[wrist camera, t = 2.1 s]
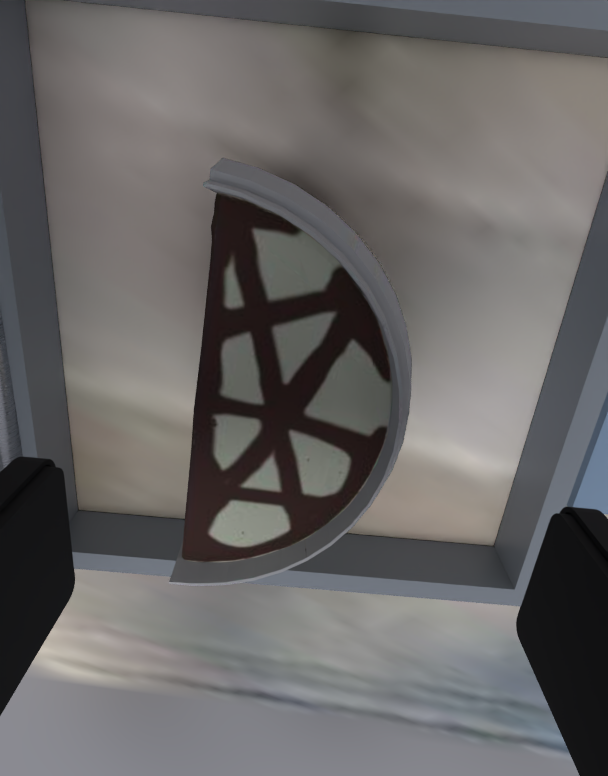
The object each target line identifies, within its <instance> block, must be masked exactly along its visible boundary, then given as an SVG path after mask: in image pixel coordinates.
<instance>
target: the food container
mask: <svg viewBox="0 0 608 776" xmlns="http://www.w3.org/2000/svg"><path fill="white" fill-rule="evenodd" d="M203 186H204V187H206V188H208V189H210V190H212V191H214V192H216V193H217V194H216V199H215V207H214V216H213V220H212V225H211V231H212V247H211V260H210V270H209V280H208V289H207V298H206V308H205V318H204V327H203V337H202V347H201V355H200V364H199V372H198V380H197V389H196V397H195V405H194V416H193V432H192V448H191V459H190V470H189V481H188V492H187V502H186V513H185V523H184V535H183V541H182V545H181V548H180V551H179V554H178V557H177V560H176V563H175V566H174V569H173V572H172V575H171V578H170V581H169V584H178V585H190V586H213V585H229V584H235V583H242V582H248V581H254V580H257V579H261V578H264V577H268V576H271V575H274V574H278V573H281V572H283V571H286V570H288V569H290V568H292V567H295V566H297V565H299V564H301V563H303V562H306V561H308V560H309V559H311V558H312V557H314V556H316V555H317V554H319V553H320V552H322V551H323V550H325V549H327V548H328V547H330V546H331V545H333V544H334V543H335V542H336V541H337V540H338V539H339V538H341V537H342V536H343V535H344V534H345V533H346V532H347V531H349V530H350V529H351V528H352V527H353V526H354V525H355V524H356V522H357V521H358V520H359V519H360V518H361V516H362V515H363V514H364V513H365V512H366V510H367V509H368V508H369V507H370V506H371V504H372V503H373V501H374V499H375V498H376V496H377V495H378V493H379V492H380V490H381V488H382V487H383V485H384V483H385V482H386V480H387V478H388V477H389V475H390V473H391V472H392V470H393V467H394V464H395V462H396V459H397V457H398V454H399V451H400V449H401V446H402V444H403V440H404V435H405V430H406V425H407V420H408V415H409V408H410V397H411V367H412V358H411V352H410V345H409V339H408V332H407V326H406V323H405V320H404V317H403V314H402V311H401V308H400V306H399V303H398V300H397V297H396V294H395V292H394V290H393V288H392V286H391V284H390V283H389V281H388V279H387V277H386V275H385V273H384V271H383V270H382V268H381V266H380V264H379V262H378V261H377V260H376V258H375V257H374V256H373V254H372V253H371V252H370V250H369V249H368V248H367V247H366V245H365V244H364V243H363V241H362V240H361V239H360V237H359V236H358V235H357V234H356V232H354V231H353V230H352V229H351V228H350V227H349V226H348V225H347V224H346V223H345V222H344V221H343V220H342V219H341V218H340V217H338V216H337V215H336V214H335V213H334V212H333V211H332V210H331V209H330V208H329V207H328V206H326V205H325V204H323V203H322V202H320V201H319V200H317V199H316V198H314V197H313V196H311V195H310V194H308V193H307V192H305V191H304V190H302V189H301V188H299V187H298V186H296V185H295V184H293V183H291V182H289V181H286V180H284V179H282V178H280V177H278V176H275V175H273V174H271V173H269V172H267V171H265V170H262V169H260V168H258V167H254V166H251V165H247V164H244V163H240V162H236V161H233V160H229V159H225V158H222V159H221V160H220V161H219V162H218V163H217V164H216V165H215V166H213V167H212V168H211V171H210V180H209V181H206V182H204V184H203Z"/></svg>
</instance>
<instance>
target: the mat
mask: <svg viewBox="0 0 608 776" xmlns="http://www.w3.org/2000/svg"><path fill="white" fill-rule="evenodd" d="M567 506H568V507H578V508H589V509H597V510H599V511H601V512H602V513H603V514H608V392H607V395H606V398H605V401H604V403H603V406H602V409H601V412H600V414H599V417H598V420H597V423H596V426H595V428H594V431H593V434H592V437H591V439H590V442H589V445H588V448H587V450H586V453H585V456H584V459H583V461H582V464H581V467H580V470H579V473H578V475H577V478H576V481H575V484H574V486H573V489H572V492H571V495H570V497H569V500H568V503H567Z"/></svg>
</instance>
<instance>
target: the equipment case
mask: <svg viewBox="0 0 608 776" xmlns="http://www.w3.org/2000/svg"><path fill="white" fill-rule="evenodd" d="M66 1H76V2H85V3H95V4H104V5H114V6H123V7H133V8H142V9H152V10H161V11H171V12H180V13H190V14H199V15H209V16H218V17H228V18H237V19H247V20H256V21H265V22H275V23H284V24H294V25H303V26H313V27H322V28H332V29H341V30H351V31H360V32H370V33H379V34H389V35H398V36H408V37H417V38H427V39H436V40H446V41H455V42H465V43H474V44H484V45H493V46H503V47H512V48H522V49H531V50H541V51H550V52H560V53H569V54H579V55H588V56H598V57H607V58H608V0H66ZM607 392H608V174H607V177H606V180H605V183H604V187H603V190H602V193H601V197H600V200H599V203H598V206H597V210H596V213H595V216H594V220H593V223H592V226H591V229H590V233H589V236H588V239H587V243H586V246H585V249H584V252H583V256H582V259H581V262H580V266H579V269H578V272H577V275H576V279H575V282H574V285H573V289H572V292H571V295H570V298H569V302H568V305H567V308H566V312H565V315H564V318H563V321H562V325H561V328H560V331H559V335H558V338H557V341H556V344H555V348H554V351H553V354H552V358H551V361H550V364H549V367H548V371H547V374H546V377H545V381H544V384H543V387H542V390H541V394H540V397H539V400H538V404H537V407H536V410H535V413H534V417H533V420H532V423H531V427H530V430H529V433H528V436H527V440H526V443H525V446H524V450H523V453H522V456H521V459H520V463H519V466H518V469H517V473H516V476H515V479H514V482H513V486H512V489H511V492H510V496H509V499H508V502H507V505H506V509H505V512H504V515H503V519H502V522H501V525H500V528H499V532H498V535H497V538H496V542H495V545H494V547H493V546H482V545H470V544H459V543H447V542H436V541H424V540H413V539H401V538H390V537H378V536H367V535H355V534H344V535H343V536H342V537H341V538H339V539H338V540H337V541H336V542H335V543H334V544H333V545H331V546H330V547H328V548H327V549H325V550H323V551H322V552H320V553H319V554H317V555H316V556H314V557H312V558H311V559H309V560H308V561H306V562H303V563H301V564H299V565H297V566H295V567H292V568H290V569H288V570H286V571H283V572H281V573H278V574H274V575H271V576H268V577H264V578H261V579H257V580H254V581H248V582H242V583H252V584H263V585H275V586H287V587H299V588H311V589H322V590H334V591H346V592H358V593H370V594H382V595H393V596H405V597H417V598H429V599H441V600H452V601H464V602H476V603H488V604H500V605H512V606H521V604H522V601H523V598H524V595H525V592H526V589H527V587H528V584H529V581H530V578H531V575H532V572H533V569H534V566H535V563H536V560H537V557H538V554H539V551H540V548H541V545H542V542H543V539H544V536H545V533H546V530H547V527H548V524H549V522H550V519H551V517H552V516H553V515H554V514H556V513H560V511H561V510H562V509H563V508H564V507H566V506H567V503H568V500H569V497H570V495H571V492H572V489H573V486H574V484H575V481H576V478H577V475H578V473H579V470H580V467H581V464H582V461H583V459H584V456H585V453H586V450H587V448H588V445H589V442H590V439H591V437H592V434H593V431H594V428H595V426H596V423H597V420H598V417H599V414H600V412H601V409H602V406H603V403H604V401H605V398H606V395H607ZM21 456H23V457H34V458H45V459H51V460H53V461H54V463H55V466H56V467H58V468H61V469H62V470H63V472H64V478H65V488H66V497H67V507H68V516H69V526H70V535H71V545H72V554H73V564H74V569H86V570H98V571H110V572H122V573H133V574H145V575H157V576H169V577H171V575H172V572H173V569H174V566H175V563H176V560H177V557H178V554H179V551H180V548H181V545H182V541H183V535H184V523H185V520H182V519H171V518H159V517H148V516H136V515H125V514H113V513H102V512H90V511H78V506H77V496H76V487H75V477H74V468H73V458H72V449H71V439H70V430H69V420H68V411H67V401H66V392H65V382H64V373H63V363H62V354H61V344H60V334H59V325H58V315H57V306H56V296H55V287H54V277H53V268H52V258H51V249H50V239H49V230H48V220H47V211H46V201H45V192H44V182H43V173H42V163H41V154H40V144H39V135H38V125H37V116H36V106H35V97H34V87H33V78H32V68H31V59H30V49H29V40H28V30H27V21H26V11H25V2H24V0H0V472H1V471H2V470H3V469H4V468H5V467H6V466H7V465H8V464H9V463H11V462H12V461H13V460H14V459H15V458H17V457H21Z"/></svg>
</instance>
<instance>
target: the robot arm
mask: <svg viewBox="0 0 608 776" xmlns="http://www.w3.org/2000/svg"><path fill="white" fill-rule="evenodd" d="M74 584H75V573H74V564H73V554H72V545H71V535H70V526H69V516H68V507H67V497H66V488H65V478H64V472H63V470H62V469H61V468H58V467H56V466H55V463H54V461H53V460H51V459H45V458H34V457H23V456H21V457H17V458H15V459H14V460H13V461H12V462H11V463H9V464H8V465H7V466H6V467H5V468H4V469H3V470H2V471H1V472H0V715H1V713H2V712H3V710H4V709H5V707H6V705H7V703H8V702H9V700H10V698H11V697H12V695H13V693H14V691H15V690H16V688H17V687H18V685H19V683H20V682H21V680H22V678H23V677H24V675H25V673H26V672H27V670H28V668H29V666H30V665H31V663H32V661H33V660H34V658H35V656H36V655H37V653H38V651H39V650H40V648H41V646H42V645H43V643H44V641H45V640H46V638H47V636H48V635H49V633H50V631H51V629H52V628H53V626H54V624H55V623H56V621H57V619H58V618H59V616H60V614H61V613H62V611H63V609H64V608H65V606H66V604H67V603H68V601H69V599H70V597H71V595H72V592H73V589H74ZM516 626H517V634H518V637H519V640H520V642H521V644H522V647H523V649H524V651H525V653H526V656H527V658H528V660H529V662H530V665H531V667H532V669H533V671H534V674H535V676H536V678H537V680H538V683H539V685H540V687H541V689H542V692H543V694H544V696H545V698H546V701H547V703H548V705H549V707H550V710H551V712H552V714H553V716H554V719H555V721H556V723H557V725H558V728H559V730H560V732H561V734H562V737H563V739H564V741H565V743H566V746H567V748H568V750H569V752H570V755H571V757H572V759H573V761H574V764H575V766H576V768H577V770H578V773H579V775H580V776H608V519H607V517H606V516H605V515H604V514H603V513H602V512H601V511H599V510H597V509H589V508H578V507H564V508H563V509H562V510H561V511H560V513H556V514H554V515H553V516H552V517H551V519H550V522H549V524H548V527H547V530H546V533H545V536H544V539H543V542H542V545H541V548H540V551H539V554H538V557H537V560H536V563H535V566H534V569H533V572H532V575H531V578H530V581H529V584H528V587H527V589H526V592H525V595H524V598H523V601H522V604H521V607H520V610H519V613H518V616H517V623H516Z"/></svg>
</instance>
